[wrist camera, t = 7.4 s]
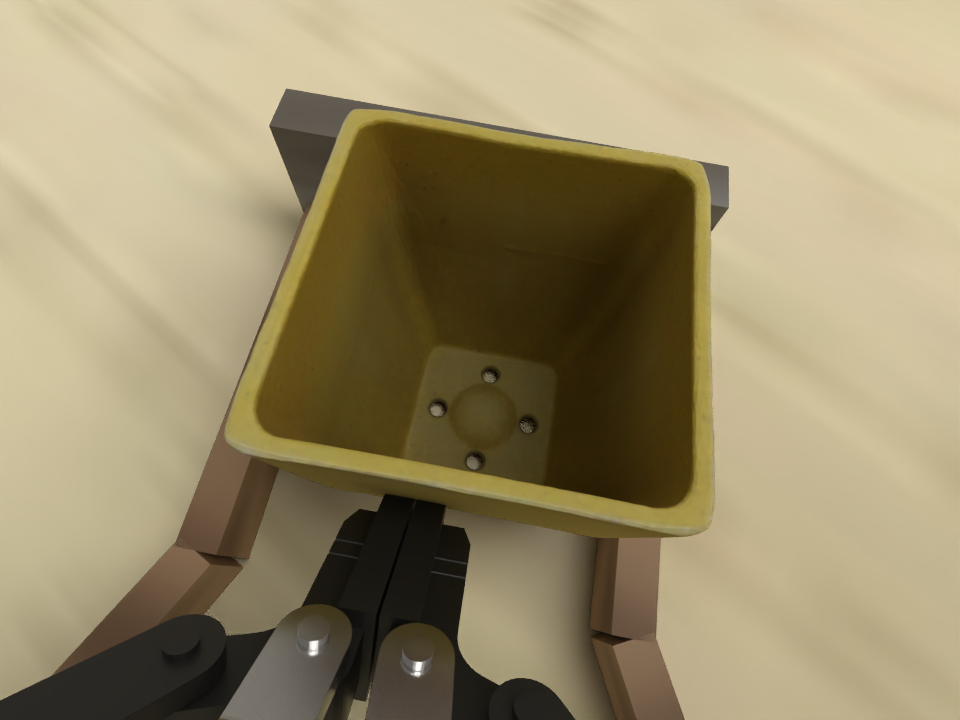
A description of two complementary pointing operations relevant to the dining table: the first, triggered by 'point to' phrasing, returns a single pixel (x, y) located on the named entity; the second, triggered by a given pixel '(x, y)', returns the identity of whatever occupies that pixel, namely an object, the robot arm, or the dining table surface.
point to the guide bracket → (248, 481)
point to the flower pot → (495, 330)
